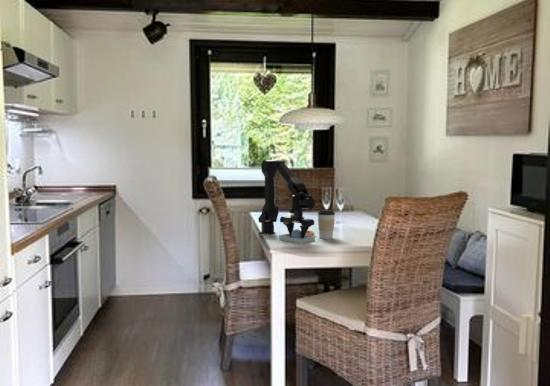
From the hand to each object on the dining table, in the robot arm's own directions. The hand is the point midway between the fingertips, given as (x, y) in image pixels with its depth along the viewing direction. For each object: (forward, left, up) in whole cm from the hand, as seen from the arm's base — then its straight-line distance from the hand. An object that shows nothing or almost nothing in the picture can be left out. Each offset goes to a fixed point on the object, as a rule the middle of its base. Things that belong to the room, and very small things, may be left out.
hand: (296, 237), depth 269 cm
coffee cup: (+6, +16, -2) cm, 17 cm away
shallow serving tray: (0, 0, -1) cm, 1 cm away
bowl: (-6, +13, -1) cm, 14 cm away
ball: (0, 0, -1) cm, 1 cm away
